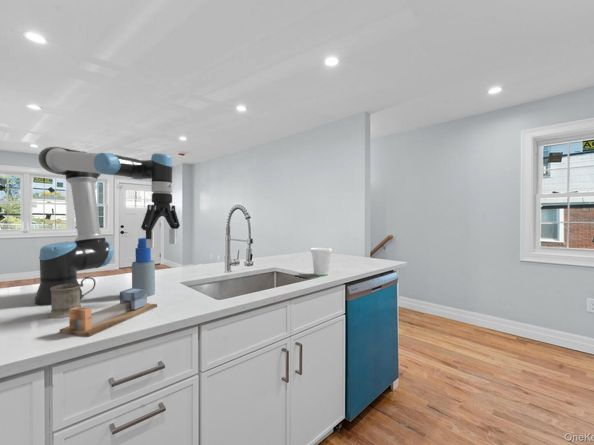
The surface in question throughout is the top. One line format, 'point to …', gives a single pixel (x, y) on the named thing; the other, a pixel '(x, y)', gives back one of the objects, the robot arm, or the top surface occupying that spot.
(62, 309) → the mug
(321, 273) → the cup
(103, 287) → the top surface
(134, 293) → the slider
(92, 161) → the robot arm
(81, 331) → the rail board
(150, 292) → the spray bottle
